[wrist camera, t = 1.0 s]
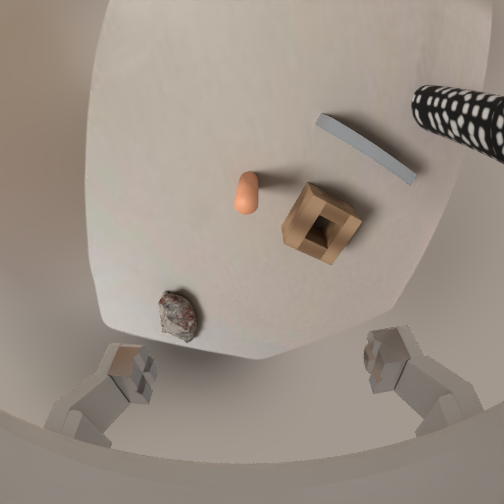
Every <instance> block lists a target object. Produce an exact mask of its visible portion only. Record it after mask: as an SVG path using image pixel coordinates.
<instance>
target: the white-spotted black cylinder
mask: <svg viewBox="0 0 504 504" xmlns="http://www.w3.org/2000/svg"><path fill="white" fill-rule="evenodd" d="M412 113H413V116H414V118H415V120H416V122H417V123H418V124H419V125H420V126H421V127H422V128H423V129H425V130H427V131H430V132H432V133H435V134H438V135H440V136H443V137H445V138H448V139H450V140H453V141H455V142H458V143H460V144H462V145H465V146H467V147H469V148H472V149H474V150H476V151H478V152H480V153H482V154H485V155H487V156H489V157H491V158H493V159H495V160H497V161H499V162H501V163H503V164H504V97H503V96H499V95H493V94H489V93H484V92H478V91H472V90H466V89H459V88H451V87H442V86H432V85H426V86H422V87H420V88H419V89H418V90H417V91H416V92H415V94H414V96H413V99H412Z"/></svg>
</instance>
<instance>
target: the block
mask: <svg viewBox="0 0 504 504" xmlns="http://www.w3.org/2000/svg"><path fill="white" fill-rule="evenodd" d="M319 215H320V216H322V217H324V218H326V219H328V221H327V223H326V225H325V226H324V228H323V229H322V231H319V230H317V229H315V228H313V227H312V225H313V224H314V222H315V220H316V219H317V217H318V216H319ZM361 222H362V220H361V219H360V217H359V216H358V214H357V213H356V211H355V210H354V209H353V207H352V206H351V205H349V204H347V203H345V202H344V201H342V200H340V199H338V198H336V197H334V196H333V195H331V194H329V193H327V192H325V191H323V190H321V189H320V188H318V187H316V186H314V185H312V184H310V183H308V182H307V184H306V185H305V187H304V189H303V191H302V192H301V194H300V196H299V197H298V199H297V201H296V203H295V204H294V206H293V208H292V209H291V211H290V213H289V215H288V216H287V218H286V220H285V221H284V223H283V225H282V233H283V240H284V244H285V245H287V246H290V247H292V248H294V249H296V250H299V251H301V252H303V253H305V254H308V255H310V256H312V257H314V258H317V259H319V260H321V261H323V262H326V263H328V264H330V265H332V264H333V263H334V261H335V260H336V258H337V257H338V256H339V254H340V253H341V251H342V250H343V248H344V247H345V246H346V244H347V243H348V241H349V240H350V238H351V237H352V236H353V234H354V233H355V231H356V230H357V228H358V227H359V225H360V224H361Z"/></svg>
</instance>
